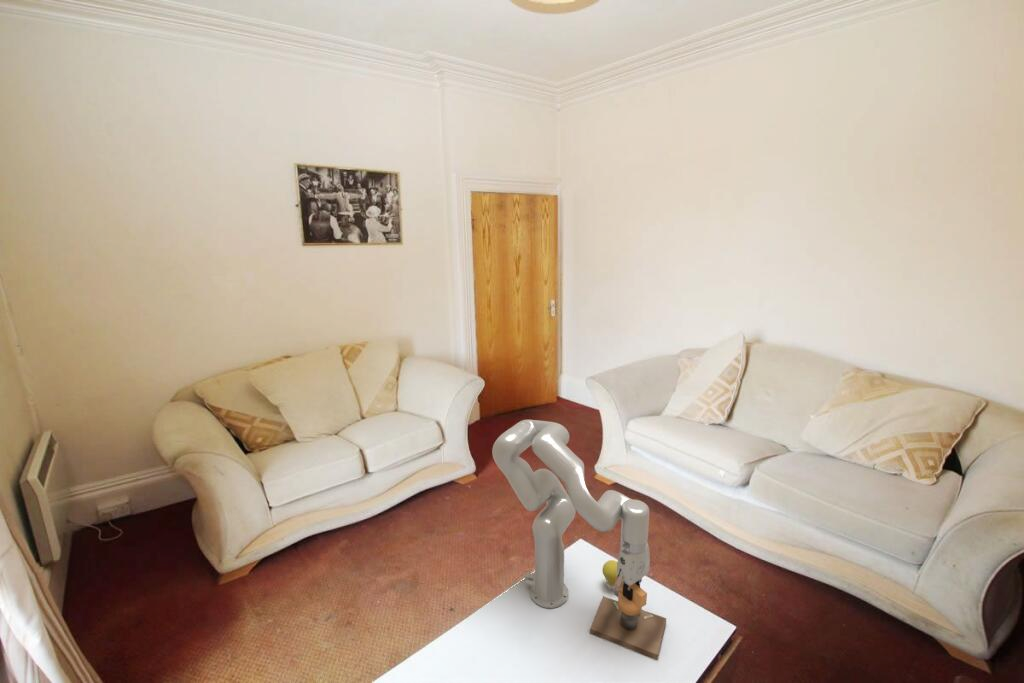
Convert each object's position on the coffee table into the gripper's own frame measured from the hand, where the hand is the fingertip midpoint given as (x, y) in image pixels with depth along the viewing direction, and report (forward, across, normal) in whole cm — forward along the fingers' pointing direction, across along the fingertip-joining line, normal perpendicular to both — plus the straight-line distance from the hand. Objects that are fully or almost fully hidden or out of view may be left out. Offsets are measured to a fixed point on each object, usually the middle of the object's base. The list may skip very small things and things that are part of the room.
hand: (631, 594), depth 140 cm
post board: (+13, 0, 0) cm, 13 cm away
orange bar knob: (+4, 0, +1) cm, 5 cm away
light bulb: (+13, +9, +14) cm, 21 cm away
